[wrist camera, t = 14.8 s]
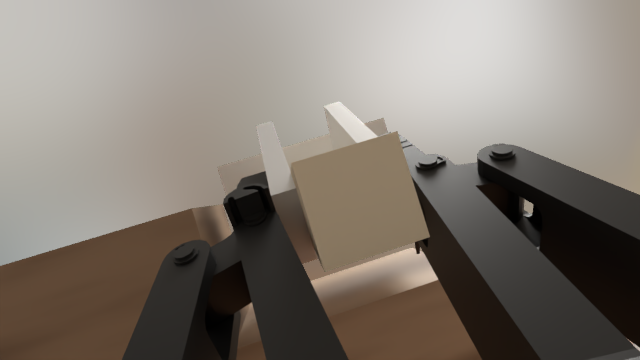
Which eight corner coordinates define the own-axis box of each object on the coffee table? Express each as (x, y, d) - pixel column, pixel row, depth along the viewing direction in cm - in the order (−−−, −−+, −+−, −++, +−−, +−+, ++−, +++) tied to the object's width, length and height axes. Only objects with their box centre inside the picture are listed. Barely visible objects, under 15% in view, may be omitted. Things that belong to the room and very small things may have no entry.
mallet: (590, 268, 8) (509, 14, 8) (194, 410, 7) (109, 124, 7) (386, 218, 25) (360, 136, 25) (261, 259, 24) (234, 173, 24)
